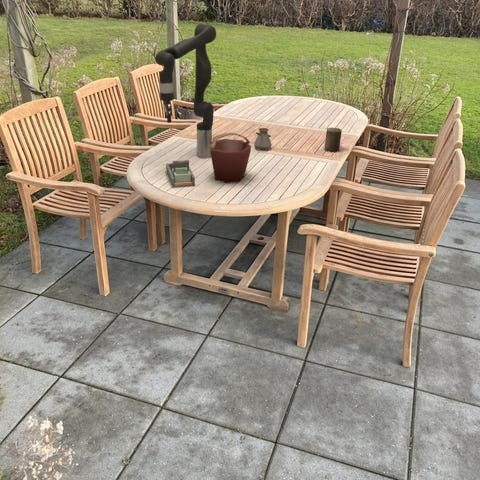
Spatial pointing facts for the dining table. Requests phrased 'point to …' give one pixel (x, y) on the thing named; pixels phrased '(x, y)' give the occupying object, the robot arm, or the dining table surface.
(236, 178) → the bucket
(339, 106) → the dining table surface
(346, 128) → the dining table surface
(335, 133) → the pillar candle
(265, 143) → the coffee pot
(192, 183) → the bay
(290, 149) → the dining table surface
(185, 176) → the box
